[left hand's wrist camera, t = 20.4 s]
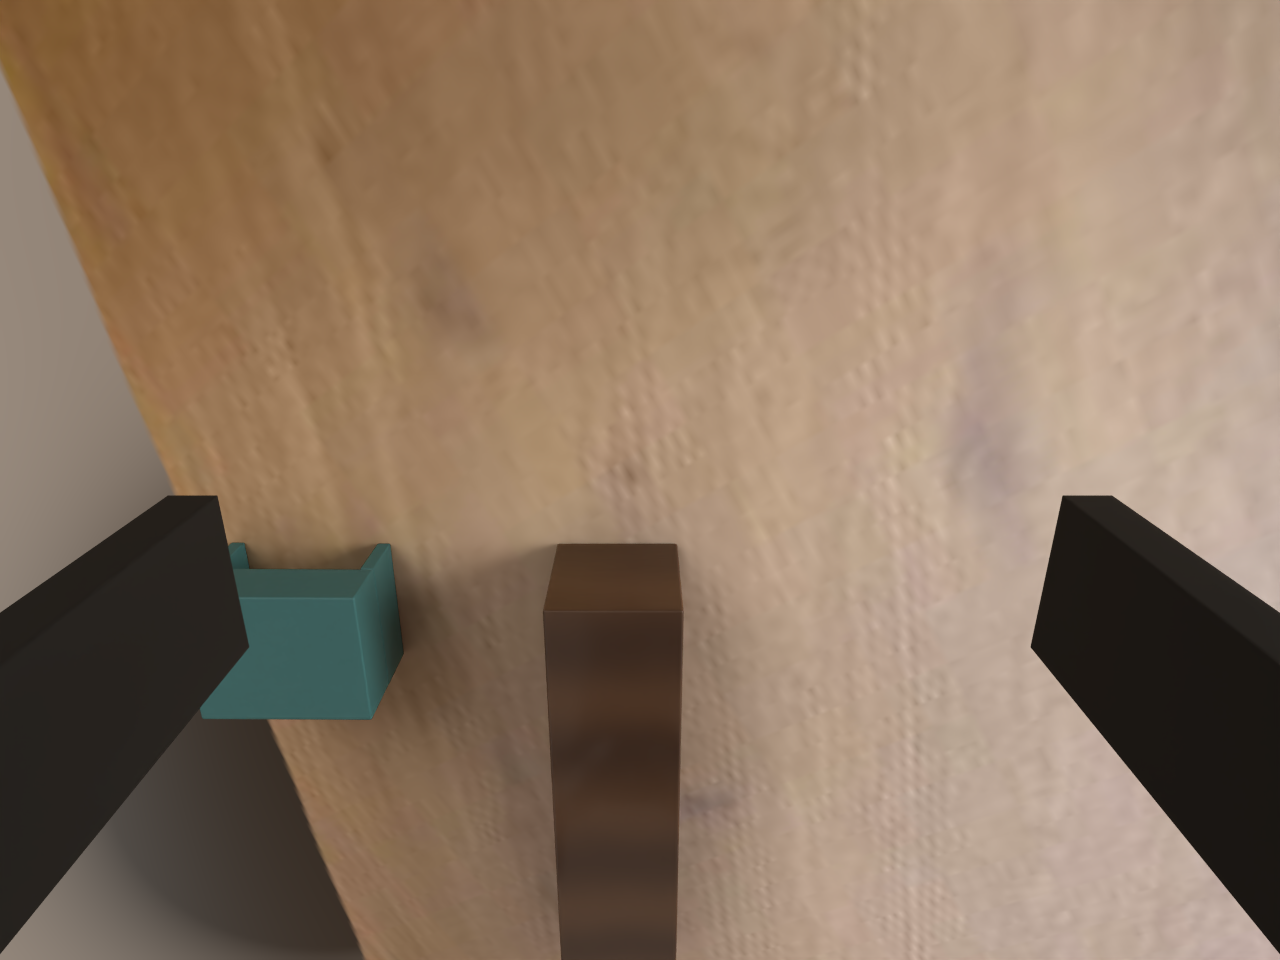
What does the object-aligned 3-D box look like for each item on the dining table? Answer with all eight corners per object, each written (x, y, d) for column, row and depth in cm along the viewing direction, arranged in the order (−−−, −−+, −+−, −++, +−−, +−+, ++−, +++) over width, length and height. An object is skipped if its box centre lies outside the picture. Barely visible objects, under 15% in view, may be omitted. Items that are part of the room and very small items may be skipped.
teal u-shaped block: (231, 542, 36) (172, 597, 32) (390, 543, 37) (353, 598, 32) (254, 653, 39) (201, 719, 34) (404, 653, 39) (371, 720, 34)
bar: (557, 543, 37) (542, 610, 31) (676, 543, 37) (683, 610, 31) (575, 947, 46) (566, 1055, 40) (670, 947, 46) (673, 1055, 40)
